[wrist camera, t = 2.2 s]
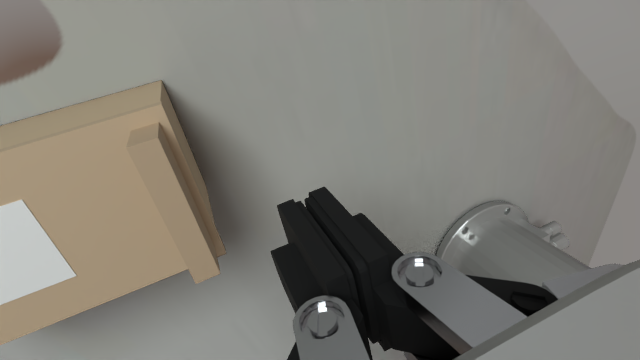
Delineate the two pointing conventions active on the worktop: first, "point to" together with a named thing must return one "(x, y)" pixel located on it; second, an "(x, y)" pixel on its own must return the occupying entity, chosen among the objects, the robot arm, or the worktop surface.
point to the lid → (97, 218)
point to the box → (100, 110)
